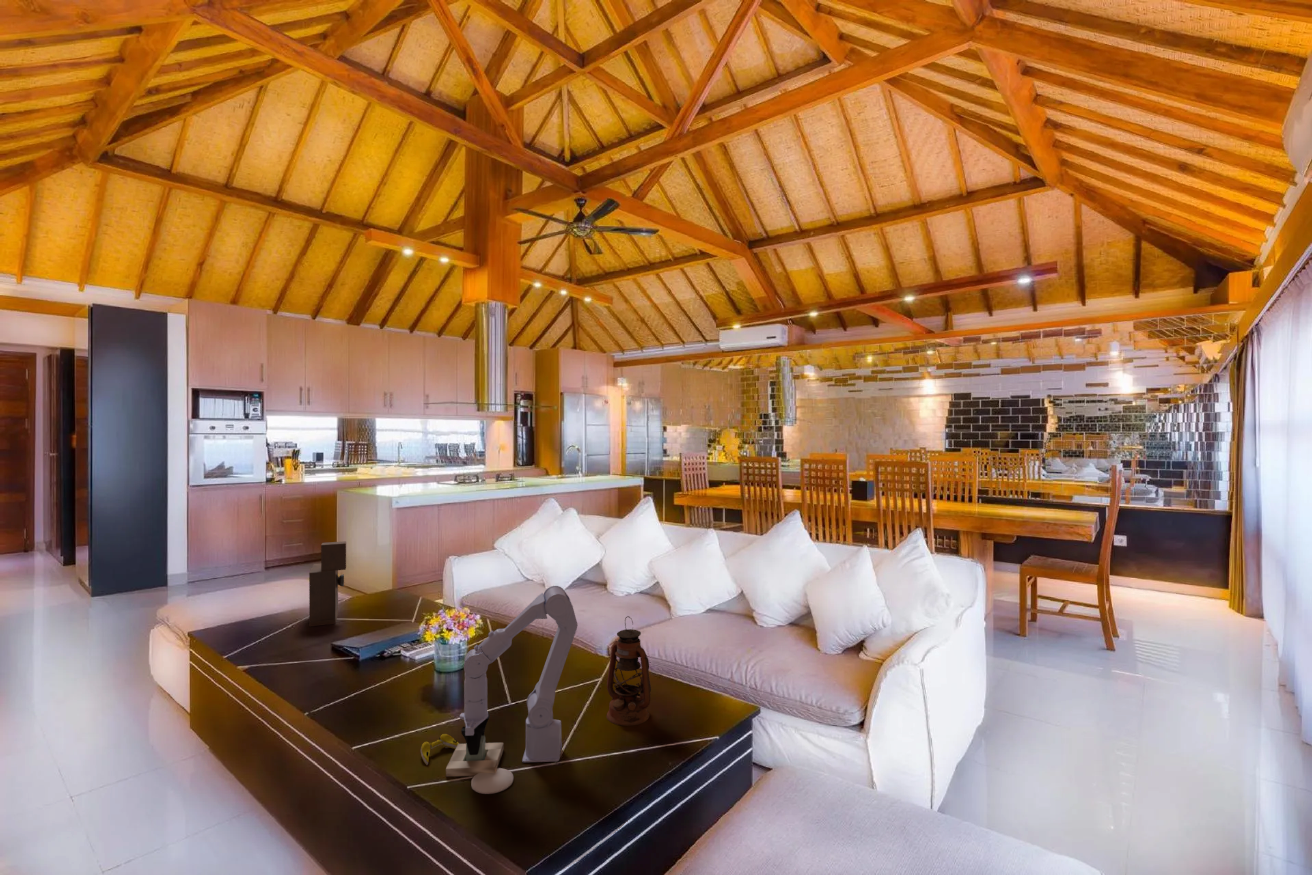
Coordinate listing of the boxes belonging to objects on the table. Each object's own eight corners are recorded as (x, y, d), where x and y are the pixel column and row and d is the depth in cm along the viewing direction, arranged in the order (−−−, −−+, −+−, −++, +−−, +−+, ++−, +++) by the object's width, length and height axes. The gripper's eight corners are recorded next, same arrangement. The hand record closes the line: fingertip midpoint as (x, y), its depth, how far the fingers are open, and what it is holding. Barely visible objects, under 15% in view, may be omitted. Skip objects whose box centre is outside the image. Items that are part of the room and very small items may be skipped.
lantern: (592, 715, 186) (593, 616, 186) (620, 700, 197) (620, 606, 196) (636, 732, 176) (637, 628, 176) (663, 715, 187) (663, 617, 186)
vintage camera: (345, 622, 274) (345, 543, 273) (309, 626, 268) (308, 546, 267) (347, 610, 291) (347, 536, 290) (313, 613, 285) (313, 538, 285)
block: (485, 758, 162) (485, 735, 162) (482, 766, 158) (482, 743, 158) (469, 758, 162) (469, 735, 162) (466, 766, 158) (466, 743, 158)
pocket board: (503, 749, 166) (503, 742, 166) (494, 774, 154) (494, 766, 154) (458, 751, 165) (458, 743, 165) (445, 776, 153) (445, 768, 153)
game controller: (446, 738, 170) (449, 728, 170) (459, 754, 167) (462, 744, 166) (413, 753, 163) (416, 742, 162) (425, 770, 159) (428, 759, 158)
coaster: (516, 769, 157) (516, 767, 157) (509, 793, 147) (509, 790, 147) (476, 771, 156) (476, 768, 156) (466, 794, 146) (466, 792, 146)
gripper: (466, 685, 167) (466, 735, 167) (452, 710, 152) (452, 765, 152) (493, 685, 167) (493, 734, 167) (481, 709, 153) (481, 764, 153)
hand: (475, 749), depth 160 cm, fingers closed on block, 4 cm apart
